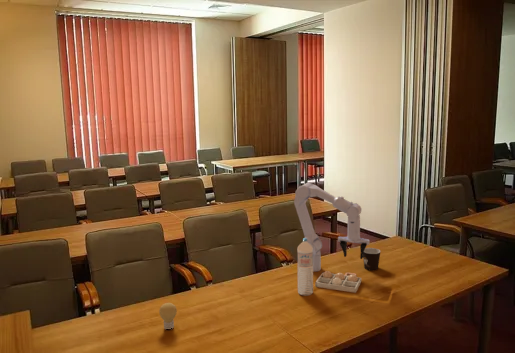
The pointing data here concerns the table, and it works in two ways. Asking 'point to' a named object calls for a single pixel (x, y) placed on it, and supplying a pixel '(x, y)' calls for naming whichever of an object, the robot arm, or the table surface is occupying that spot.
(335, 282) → the white rounded ball
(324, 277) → the carton
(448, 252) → the table surface
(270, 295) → the table surface
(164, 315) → the light bulb
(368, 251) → the coffee mug
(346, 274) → the egg cup
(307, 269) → the water bottle
